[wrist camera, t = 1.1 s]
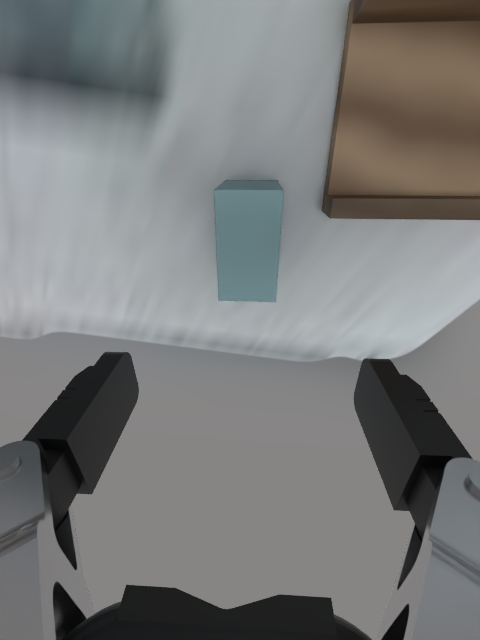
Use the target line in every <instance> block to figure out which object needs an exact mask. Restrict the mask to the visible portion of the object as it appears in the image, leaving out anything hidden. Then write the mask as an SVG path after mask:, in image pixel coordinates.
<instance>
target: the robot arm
mask: <svg viewBox="0 0 480 640" xmlns="http://www.w3.org/2000/svg"><path fill="white" fill-rule="evenodd" d="M138 392H139V389H138V382H137V378H136V374H135V370H134V366H133V362H132V358H131V355H130V354H129V353H128V352H105V353H104V354H103V355H102V356H101V357H100V359H99V360H98V361H97V362H96V364H95V365H94V366H89V367H87V368H86V369H84V370H83V371H81V372H80V373H79V374H77V375H76V376H75V377H74V378H73V379H72V380H71V382H70V383H69V384H68V385H67V386H66V389H65V390H63V391H62V393H61V394H60V395H59V396H58V398H57V400H55V401H54V402H53V403H52V405H51V406H50V407H49V408H48V410H47V411H46V412H45V413H44V414H43V416H42V417H41V418H40V419H39V421H38V422H37V423H36V424H35V425H34V427H33V428H32V429H31V430H30V432H29V433H28V434H27V435H26V436H25V438H24V439H23V440H22V441H16V442H13V443H9V444H7V445H4V446H2V447H0V640H372V639H371V638H369V636H367V635H366V634H365V633H363V632H362V631H360V629H358V628H357V627H356V626H354V625H353V624H351V623H349V622H347V621H346V620H344V619H343V618H341V617H338V616H336V615H334V613H333V607H332V601H331V598H324V597H309V596H293V595H276V596H273V597H270V598H266V599H263V600H259V601H256V602H253V603H249V604H246V605H243V606H239V607H236V608H232V609H222V608H219V607H217V606H214V605H212V604H210V603H208V602H205V601H203V600H201V599H199V598H197V597H194V596H192V595H190V594H188V593H185V592H183V591H181V590H179V589H176V588H167V587H151V586H135V585H126V588H125V591H124V594H123V598H122V601H121V602H118V603H115V604H113V605H111V606H109V607H106V608H104V609H102V610H100V611H99V612H97V613H94V609H93V604H92V601H91V597H90V594H89V591H88V588H87V586H86V583H85V579H84V575H83V571H82V564H81V558H80V553H79V546H78V540H77V534H76V528H75V523H74V516H73V511H72V507H71V503H72V501H73V499H74V498H75V496H76V494H78V493H79V494H92V493H93V491H94V489H95V487H96V485H97V482H98V481H99V479H100V477H101V474H102V472H103V470H104V468H105V466H106V464H107V462H108V460H109V458H110V456H111V454H112V452H113V450H114V448H115V446H116V443H117V442H118V439H119V437H120V435H121V433H122V431H123V429H124V427H125V425H126V423H127V421H128V419H129V417H130V415H131V413H132V411H133V408H134V407H135V404H136V402H137V399H138ZM354 405H355V410H356V413H357V415H358V418H359V420H360V423H361V426H362V428H363V431H364V434H365V436H366V439H367V441H368V444H369V447H370V449H371V452H372V454H373V457H374V460H375V462H376V465H377V467H378V470H379V472H380V475H381V478H382V480H383V483H384V485H385V488H386V490H387V493H388V496H389V498H390V501H391V504H392V506H393V509H394V510H401V511H410V513H411V515H412V518H413V520H414V523H413V525H412V528H411V531H410V534H409V538H408V541H407V544H406V548H405V551H404V555H403V558H402V561H401V565H400V568H399V572H398V575H397V578H396V582H395V585H394V589H393V592H392V595H391V598H390V601H389V603H388V605H387V608H386V610H385V613H384V615H383V617H382V621H381V623H380V626H379V629H378V632H377V635H376V638H375V640H480V461H477V460H473V459H472V458H471V456H470V455H469V453H468V452H467V450H466V449H465V448H464V446H463V445H462V443H461V442H460V440H459V439H458V438H457V436H456V435H455V433H454V432H453V431H452V429H451V428H450V426H449V425H448V424H447V422H446V421H445V419H444V418H443V416H442V415H441V414H440V413H438V409H437V408H436V407H435V405H434V404H433V402H430V398H429V397H428V395H427V394H426V393H425V391H424V390H423V388H422V387H421V386H420V385H419V384H418V383H416V382H415V381H414V380H412V379H411V378H410V377H409V376H407V375H400V374H399V372H398V371H397V369H396V368H395V366H394V365H393V363H392V362H391V361H390V360H389V359H364V360H363V362H362V365H361V368H360V372H359V377H358V381H357V384H356V388H355V392H354Z"/></svg>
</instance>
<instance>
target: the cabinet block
mask: <svg viewBox="0 0 480 640" xmlns="http://www.w3.org/2000/svg"><path fill="white" fill-rule="evenodd" d="M283 191H284V190H283V189H282V187H281V186H280V184H279V183H278V181H277V180H226V181H224V182H223V183H222V184H221V185H219V186H218V187H217V188H216V189H214V202H215V226H216V250H217V275H218V299H219V300H220V301H258V302H276V292H277V278H278V263H279V249H280V234H281V220H282V205H283Z"/></svg>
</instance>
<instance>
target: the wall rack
mask: <svg viewBox="0 0 480 640" xmlns="http://www.w3.org/2000/svg"><path fill="white" fill-rule="evenodd" d="M322 211H323V212H324V213H325V214H326V215H327V216H328V217H329V218H352V219H443V220H480V0H351V1H350V6H349V14H348V21H347V29H346V36H345V43H344V51H343V58H342V66H341V73H340V81H339V88H338V96H337V103H336V110H335V118H334V125H333V133H332V140H331V148H330V155H329V162H328V170H327V177H326V185H325V192H324V200H323V207H322Z"/></svg>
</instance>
